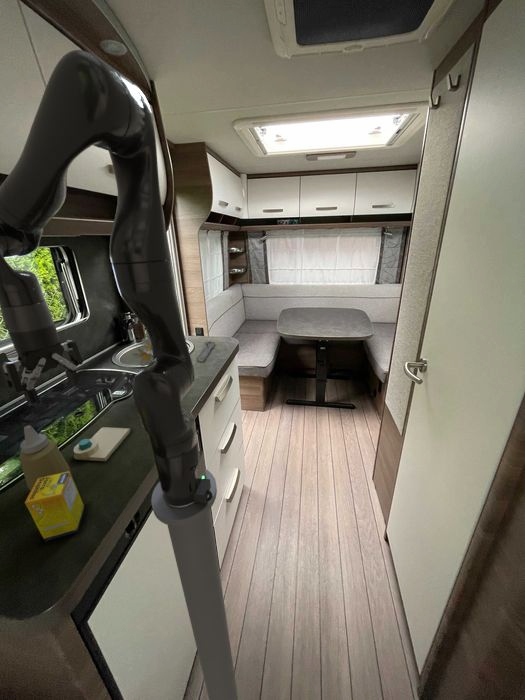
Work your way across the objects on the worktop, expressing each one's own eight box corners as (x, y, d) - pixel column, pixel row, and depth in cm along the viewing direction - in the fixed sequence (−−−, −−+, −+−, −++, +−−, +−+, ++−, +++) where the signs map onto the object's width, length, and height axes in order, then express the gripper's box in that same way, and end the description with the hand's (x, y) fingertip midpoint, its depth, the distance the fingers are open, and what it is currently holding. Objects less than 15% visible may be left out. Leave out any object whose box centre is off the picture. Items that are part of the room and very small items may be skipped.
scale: (102, 430, 86) (100, 422, 85) (130, 431, 85) (128, 423, 84) (71, 461, 74) (68, 452, 73) (104, 463, 73) (101, 454, 72)
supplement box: (54, 515, 60) (36, 477, 55) (85, 507, 61) (70, 470, 57) (43, 542, 54) (23, 503, 50) (78, 532, 56) (61, 493, 52)
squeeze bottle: (78, 487, 66) (54, 426, 59) (36, 510, 61) (4, 446, 54) (69, 469, 71) (46, 411, 64) (30, 488, 66) (0, 427, 59)
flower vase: (140, 410, 95) (124, 342, 85) (160, 383, 112) (148, 324, 102) (178, 410, 94) (166, 342, 84) (192, 383, 111) (183, 323, 101)
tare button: (84, 443, 77) (83, 438, 76) (93, 443, 76) (91, 438, 76) (78, 450, 74) (76, 444, 74) (86, 450, 74) (85, 445, 73)
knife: (192, 361, 130) (203, 361, 129) (192, 361, 130) (203, 361, 129) (207, 342, 153) (216, 342, 152) (207, 341, 153) (216, 341, 152)
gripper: (1, 338, 49) (33, 414, 55) (77, 316, 61) (96, 381, 67) (-24, 334, 51) (9, 407, 58) (54, 314, 64) (74, 376, 70)
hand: (56, 393), depth 62 cm, fingers open, 8 cm apart
